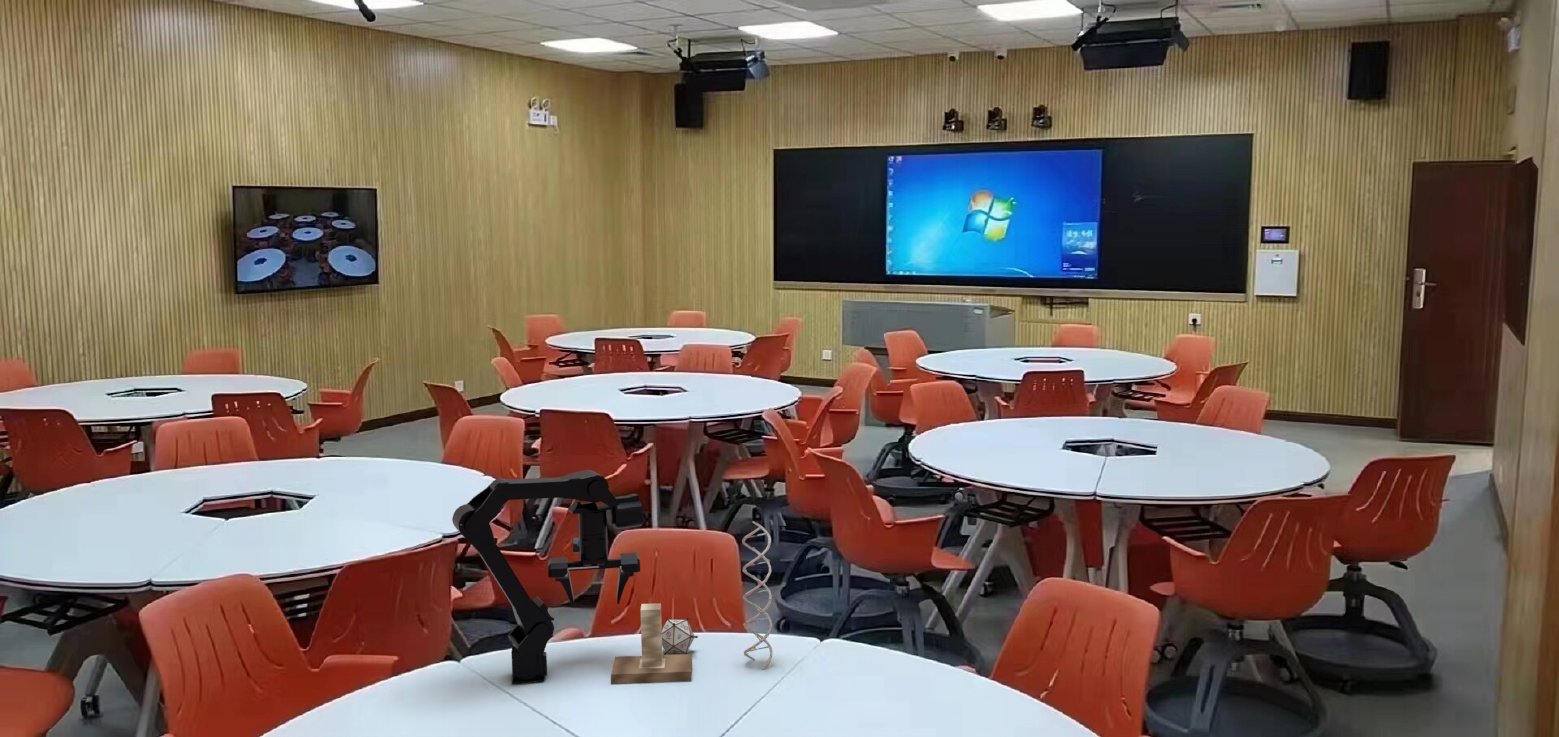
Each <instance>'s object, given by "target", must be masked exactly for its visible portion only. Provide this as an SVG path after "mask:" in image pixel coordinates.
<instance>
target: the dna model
mask: <svg viewBox="0 0 1559 737" xmlns="http://www.w3.org/2000/svg"><path fill="white" fill-rule="evenodd" d="M751 522H752V524H754V525H755V526H756V527H757V528H755V529H754V530H753V531H751V532H750V533H748V534H747V535H745V536H743V538H742V539H741V541H742V542H741V544H742V545H743V546H745V547H746V548H748V549H749V550H751V551H752V552H754V553H755V554H757V556H756V557H755V558H753V559H751V560H750V561H749V562H748V563H746V564H744V566H742V572H743V573H744V574H745V575H746V576H748V577H750V578H751V579H753V580H754V581H755V582H756V583H757V585H756V586H755V587H754V588H752V589H750V590H749V591H747V592H746V593H743V596H742V600H743V601H744V602H746V603H747V604H749V605H751V606H752V607H754V608H755V609H756V610H757V611H758V613H757V614H756V615H755V616H753V617H751V618H750V619H748V620H746V621H745V622H744V623H743V628H744V629H745V630H747V631H748V632H750V633H751V634H753V635H755V637H756V638H757V639H758V641H757V642H756V643H754V644H753V645H752V646H750V647H748V648H747V649H745V650H744V651H743V655H744V656H745V657H746V658H749V659H750V660H752V661H755V658H754V657H753V656H751V655H750V654H749V652H753V651H758V650H762V649H769V657H768V659H767V660H766V662H765V664H764V665H763V666H762V667H761V669H762V670H765V669H766V668H767V667H768V666H769V664H770V662H771V660H772V659H773V655H774V654H773V647H772V645H771V644H770V642H769V641H768V640H767V638H769V636H770V634H771V630H772V628H773V622H772V618H771V617H770V616H769V613H768V612H766V611H767V610H768V609H769V607H770V606H771V603H772V600H773V599H772V598H773V596H772V592H771V589H770V588H769V587H768V586H767V585H766V583H768V582H767V581H768V579H769V578H770V576H771V574H772V566H771V563H770V562H771V559H768V558H767V557H766V556H765V554H766V553H767V552H768V551H769V550H770V547H771V543H772V537H771V534H770V533H769V532H768V531H767V530H766V529H765V528H764V526H762V525H761V524H759V523H758V522H755V521H754V520H752V521H751ZM759 530H762V531H763V533H758V534H756V533H757V532H758V531H759ZM754 534H756V535H754ZM760 536H766V537H767V539H768V542H767V546H766V547H765V549H763V551H762V552H760V551H759V550H757V549H756V547H754V546H753V547H752V546H750V545H749V544H748V543H747V542H746V540H747V539H749V538H754V537H760ZM761 558H762V559H763V560H764V561H760V562H758V563H757V562H756V561H758V560H759V559H761ZM755 562H756V563H755ZM760 564H766V565H767V566H768V573H767V575H766V576H765V578H764V580H760V579H759V578H758V577H756V576H755V575H753V574H751V573H750V572H748V570H747V568H748V567H752V566H756V565H760ZM760 587H764V588H765V589H763V590H759V591H758V592H757V591H756V590H758V589H759V588H760ZM755 591H756V592H755ZM763 592H767V594H768V601H767V603H766V606H765V607H763V608H761V607H760V606H759V605H757V604H756V603H754V602H752V601H750V600H749V599H748V598H747V597H748V596H750V595H754V594H757V593H758V594H759V593H763ZM761 615H764V616H765V617H763V618H759V619H758V622H759V621H763V620H768V622H769V626H768V630H767V632H766V633H765V634H764V636H763V635H760V634H759V633H758V632H756V631H755V630H753V629H751V628H749V627H748V626H747V625H748V624H752V623H755V622H757V618H758V617H760V616H761ZM762 643H765V644H766V646H762V647H758V646H759V645H760V644H762ZM756 647H758V648H756Z"/></svg>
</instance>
